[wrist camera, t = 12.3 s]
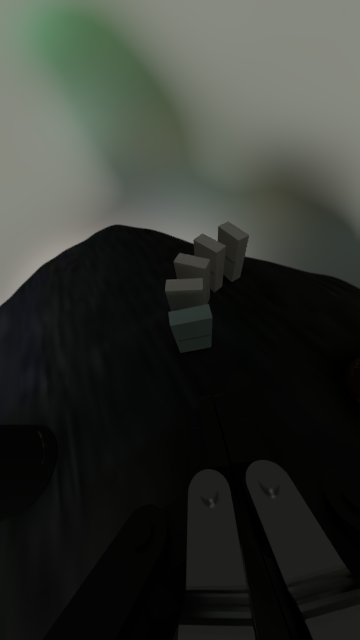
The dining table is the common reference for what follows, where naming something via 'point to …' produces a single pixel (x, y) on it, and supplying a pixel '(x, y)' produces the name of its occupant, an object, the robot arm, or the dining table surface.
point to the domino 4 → (211, 258)
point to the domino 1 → (194, 271)
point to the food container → (353, 380)
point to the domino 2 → (184, 293)
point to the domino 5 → (233, 249)
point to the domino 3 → (192, 327)
